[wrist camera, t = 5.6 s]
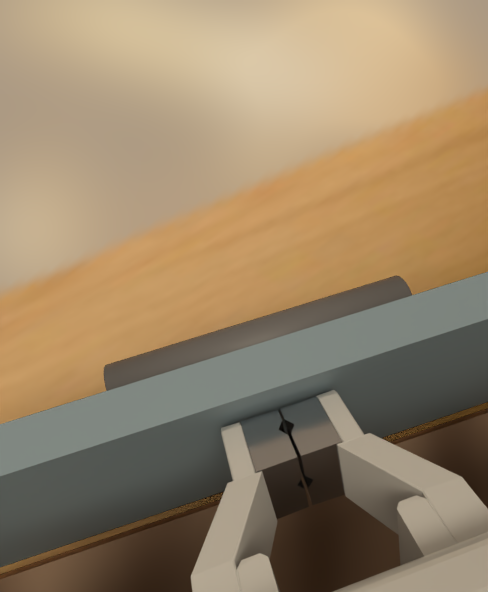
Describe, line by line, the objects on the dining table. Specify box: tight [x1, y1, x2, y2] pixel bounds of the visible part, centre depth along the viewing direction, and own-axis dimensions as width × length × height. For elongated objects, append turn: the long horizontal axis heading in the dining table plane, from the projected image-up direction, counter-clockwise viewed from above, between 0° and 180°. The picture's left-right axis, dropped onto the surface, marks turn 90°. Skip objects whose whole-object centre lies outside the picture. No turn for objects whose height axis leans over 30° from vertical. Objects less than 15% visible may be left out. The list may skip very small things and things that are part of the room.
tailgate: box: [0, 272, 488, 567], centre depth 14 cm, size 24×2×9 cm, turn 107°
